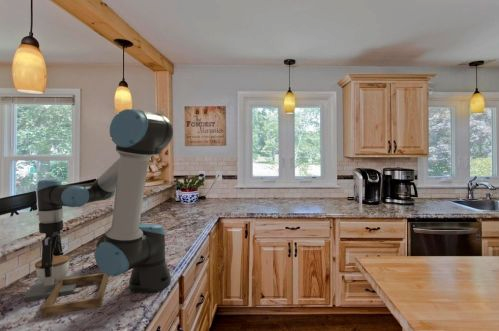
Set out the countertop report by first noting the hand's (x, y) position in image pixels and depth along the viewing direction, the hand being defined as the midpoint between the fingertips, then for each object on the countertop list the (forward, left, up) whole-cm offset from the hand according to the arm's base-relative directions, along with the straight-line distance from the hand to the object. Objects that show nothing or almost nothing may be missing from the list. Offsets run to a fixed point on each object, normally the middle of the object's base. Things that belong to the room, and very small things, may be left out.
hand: (53, 278), depth 110 cm
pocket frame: (-10, +11, -4) cm, 16 cm away
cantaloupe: (-19, -18, -4) cm, 27 cm away
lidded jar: (0, 0, -1) cm, 1 cm away
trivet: (0, 0, -4) cm, 4 cm away
